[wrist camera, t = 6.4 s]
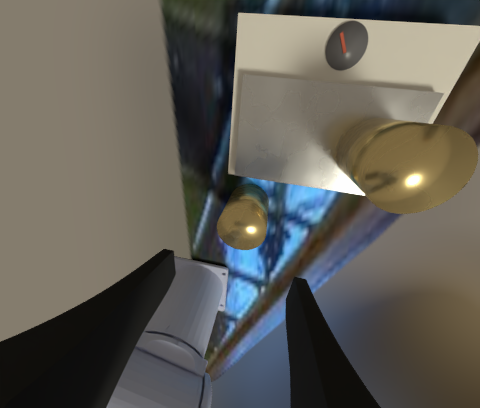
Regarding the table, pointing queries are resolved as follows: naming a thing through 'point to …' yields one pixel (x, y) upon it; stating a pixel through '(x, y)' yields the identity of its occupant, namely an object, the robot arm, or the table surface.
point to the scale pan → (313, 126)
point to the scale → (349, 55)
